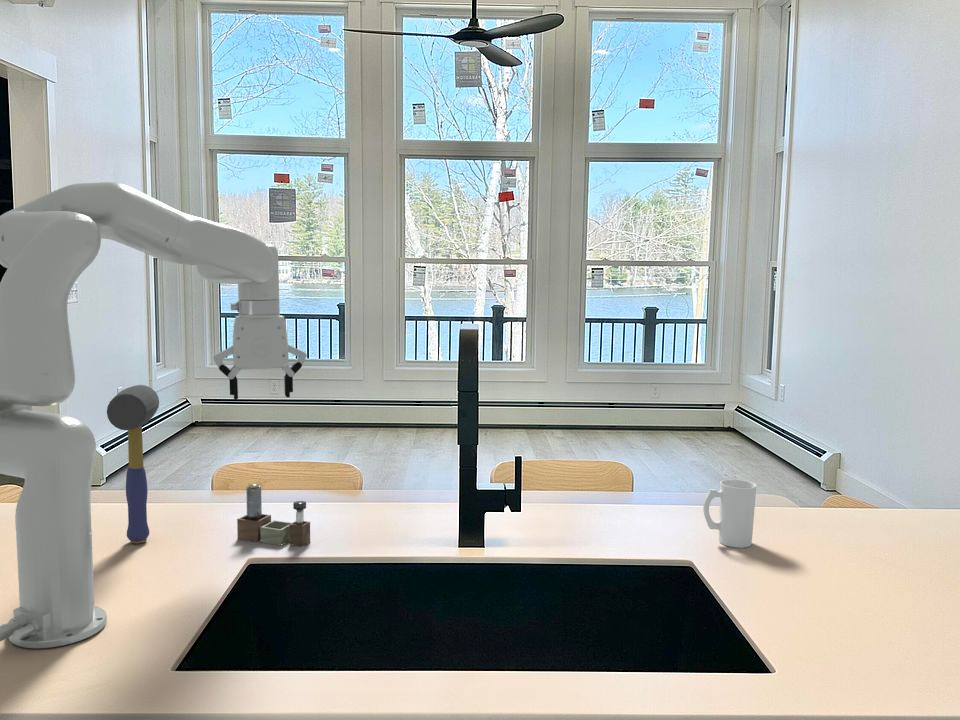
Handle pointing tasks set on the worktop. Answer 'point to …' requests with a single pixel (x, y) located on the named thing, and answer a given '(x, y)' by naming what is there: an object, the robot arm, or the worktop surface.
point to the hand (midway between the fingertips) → (261, 397)
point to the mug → (733, 512)
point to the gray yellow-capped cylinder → (254, 502)
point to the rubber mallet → (135, 451)
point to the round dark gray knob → (299, 511)
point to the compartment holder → (273, 531)
